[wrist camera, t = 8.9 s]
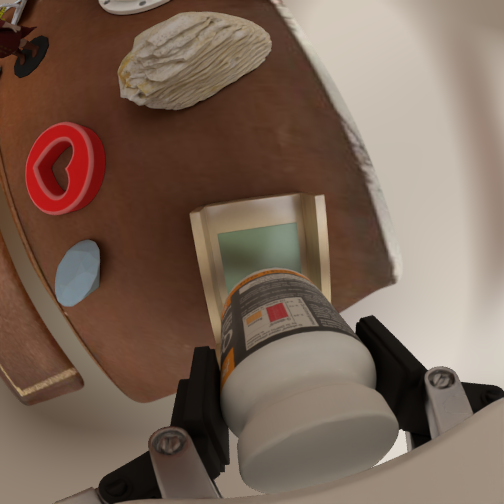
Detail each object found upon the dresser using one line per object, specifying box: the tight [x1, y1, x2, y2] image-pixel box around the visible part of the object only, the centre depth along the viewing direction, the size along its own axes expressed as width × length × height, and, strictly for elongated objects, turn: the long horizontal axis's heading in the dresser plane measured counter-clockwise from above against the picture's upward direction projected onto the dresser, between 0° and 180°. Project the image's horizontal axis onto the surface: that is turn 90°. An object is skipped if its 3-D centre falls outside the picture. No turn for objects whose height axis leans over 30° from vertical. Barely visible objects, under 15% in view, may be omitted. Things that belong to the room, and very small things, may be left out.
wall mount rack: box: [0, 0, 27, 25], centre depth 12 cm, size 16×14×6 cm
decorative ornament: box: [26, 122, 106, 215], centre depth 22 cm, size 10×10×3 cm
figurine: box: [0, 19, 49, 78], centre depth 11 cm, size 7×7×15 cm
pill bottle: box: [220, 268, 399, 494], centre depth 10 cm, size 6×6×10 cm
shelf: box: [190, 192, 331, 368], centre depth 21 cm, size 12×10×14 cm
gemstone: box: [55, 239, 100, 306], centre depth 25 cm, size 8×8×5 cm
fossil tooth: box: [117, 12, 272, 110], centre depth 17 cm, size 12×6×15 cm
